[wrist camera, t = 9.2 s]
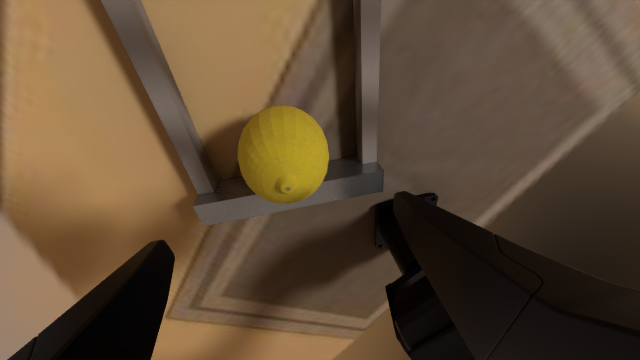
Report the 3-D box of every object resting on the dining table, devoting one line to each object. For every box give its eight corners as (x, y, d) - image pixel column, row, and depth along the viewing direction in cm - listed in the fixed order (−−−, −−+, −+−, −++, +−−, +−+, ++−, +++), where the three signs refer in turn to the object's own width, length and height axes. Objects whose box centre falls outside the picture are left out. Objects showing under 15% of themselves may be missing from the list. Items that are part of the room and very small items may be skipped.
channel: (370, 172, 22) (382, 191, 19) (211, 202, 20) (203, 226, 18) (375, -336, 9) (414, -477, 6) (-41, -332, 8) (-188, -502, 5)
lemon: (242, 157, 19) (226, 227, 12) (247, 85, 16) (230, 125, 9) (309, 165, 20) (327, 232, 14) (324, 101, 17) (357, 145, 11)
